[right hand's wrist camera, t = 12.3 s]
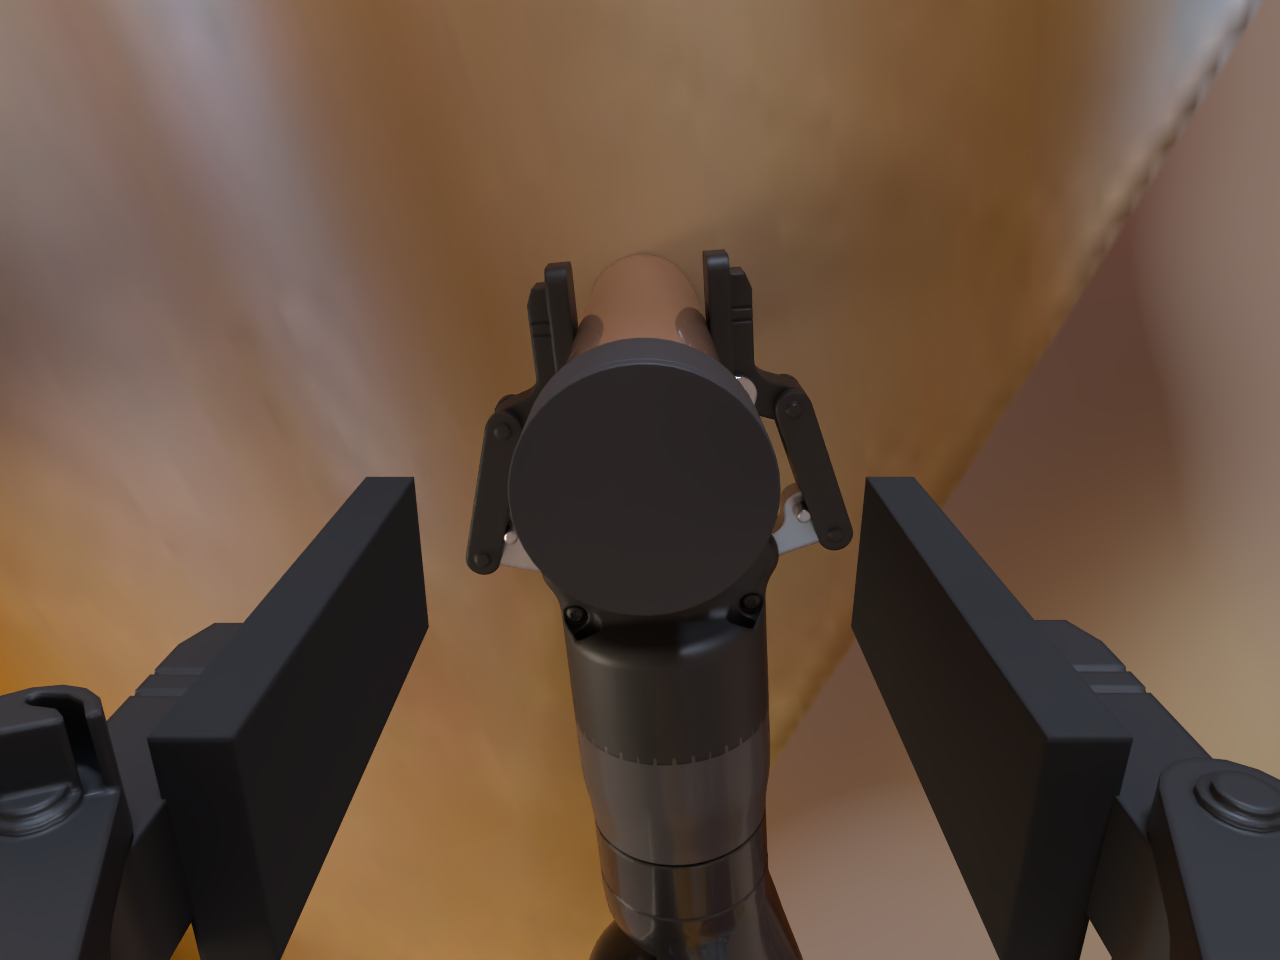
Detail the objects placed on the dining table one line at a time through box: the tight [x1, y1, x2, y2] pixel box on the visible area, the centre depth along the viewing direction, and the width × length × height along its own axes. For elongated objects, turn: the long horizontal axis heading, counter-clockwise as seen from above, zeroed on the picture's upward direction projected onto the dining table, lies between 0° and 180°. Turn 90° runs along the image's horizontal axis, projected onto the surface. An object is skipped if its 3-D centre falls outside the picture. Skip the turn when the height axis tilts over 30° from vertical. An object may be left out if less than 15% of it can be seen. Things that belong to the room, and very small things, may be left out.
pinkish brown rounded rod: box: [565, 255, 721, 365], centre depth 26 cm, size 4×4×19 cm
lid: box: [508, 338, 780, 616], centre depth 17 cm, size 5×5×2 cm
